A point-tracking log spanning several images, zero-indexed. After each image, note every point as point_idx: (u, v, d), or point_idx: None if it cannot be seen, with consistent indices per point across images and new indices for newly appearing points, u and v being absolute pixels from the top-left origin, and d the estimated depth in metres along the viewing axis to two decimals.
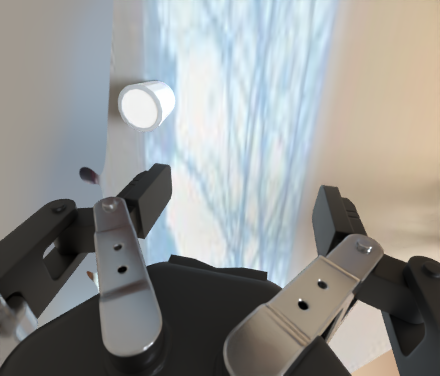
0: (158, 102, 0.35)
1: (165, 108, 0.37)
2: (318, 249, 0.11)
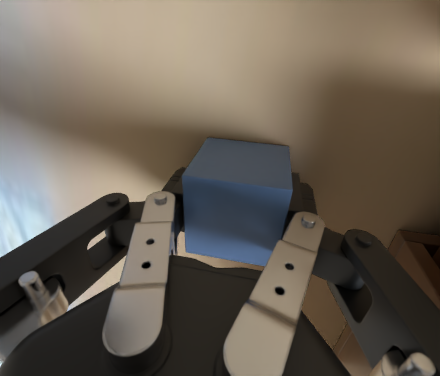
0: None
1: None
2: None
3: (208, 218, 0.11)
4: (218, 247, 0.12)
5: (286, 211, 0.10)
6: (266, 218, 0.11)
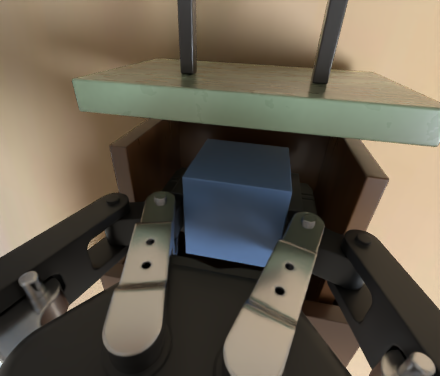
0: None
1: None
2: None
3: (208, 219, 0.11)
4: (218, 248, 0.12)
5: (286, 212, 0.10)
6: (266, 219, 0.11)
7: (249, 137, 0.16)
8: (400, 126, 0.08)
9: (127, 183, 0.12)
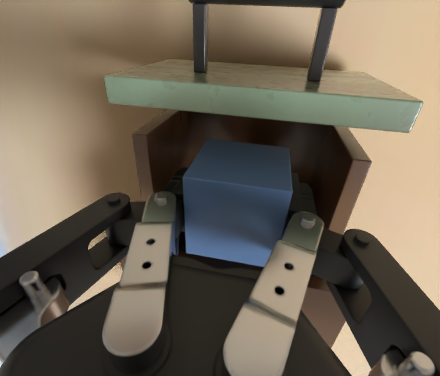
0: None
1: None
2: None
3: (209, 219, 0.11)
4: (218, 248, 0.12)
5: (286, 212, 0.10)
6: (266, 219, 0.11)
7: (252, 130, 0.18)
8: (379, 115, 0.10)
9: (145, 167, 0.13)
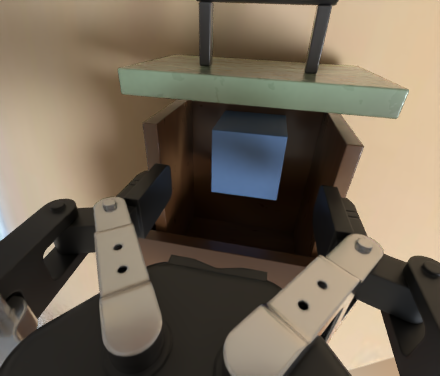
0: None
1: None
2: (318, 249, 0.11)
3: (229, 162, 0.16)
4: (235, 186, 0.17)
5: (283, 153, 0.15)
6: (270, 159, 0.15)
7: None
8: (369, 102, 0.11)
9: (155, 154, 0.14)
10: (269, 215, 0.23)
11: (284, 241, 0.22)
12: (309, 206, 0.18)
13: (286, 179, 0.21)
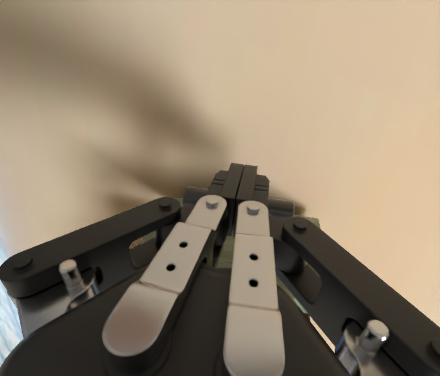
0: None
1: None
2: None
3: None
4: None
5: None
6: None
7: None
8: None
9: None
10: None
11: None
12: None
13: None
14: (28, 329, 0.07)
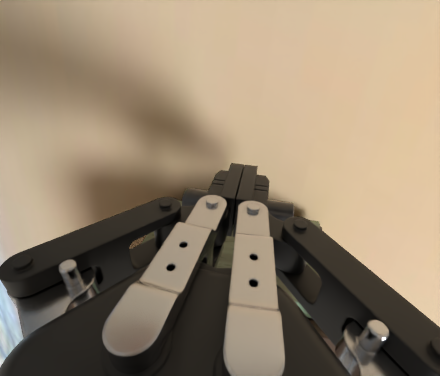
0: None
1: None
2: None
3: None
4: None
5: None
6: None
7: None
8: None
9: None
10: None
11: None
12: None
13: None
14: (28, 329, 0.07)
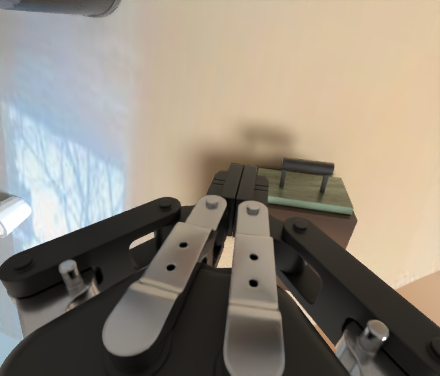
0: (3, 226, 0.52)
1: (12, 226, 0.54)
2: None
3: None
4: None
5: None
6: None
7: None
8: (341, 210, 0.33)
9: None
10: None
11: None
12: None
13: None
14: (28, 329, 0.07)
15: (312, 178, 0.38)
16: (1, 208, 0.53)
